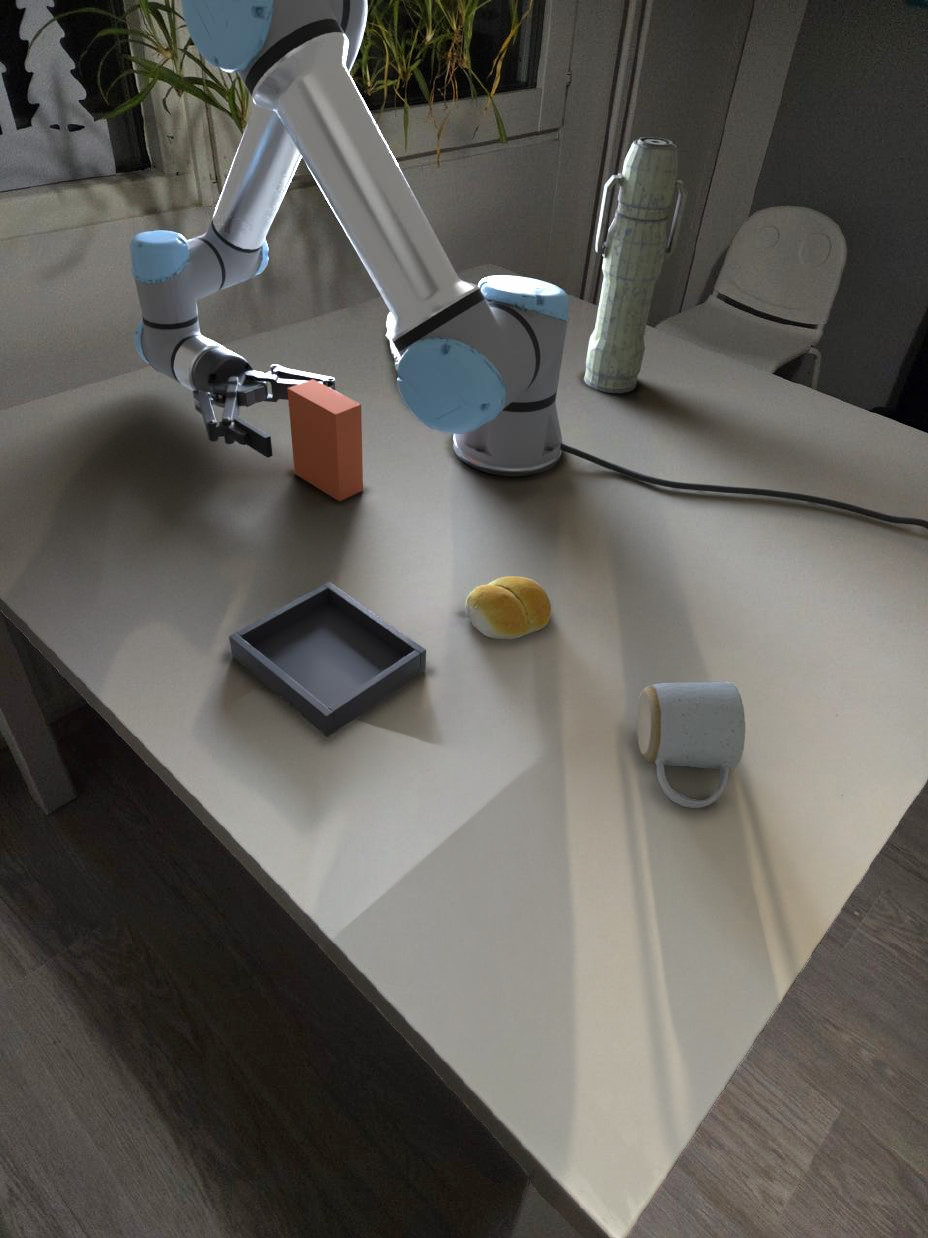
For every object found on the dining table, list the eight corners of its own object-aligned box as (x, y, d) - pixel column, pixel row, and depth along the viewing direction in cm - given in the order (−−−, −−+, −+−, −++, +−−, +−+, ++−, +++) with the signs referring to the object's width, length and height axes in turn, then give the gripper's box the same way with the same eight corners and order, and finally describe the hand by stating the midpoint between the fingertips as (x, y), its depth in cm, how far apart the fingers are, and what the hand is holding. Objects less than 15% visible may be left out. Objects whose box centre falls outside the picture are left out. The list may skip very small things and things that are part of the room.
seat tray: (330, 601, 89) (329, 581, 87) (425, 670, 82) (426, 649, 80) (232, 656, 82) (228, 635, 80) (327, 737, 75) (326, 716, 73)
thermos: (652, 393, 133) (708, 150, 110) (581, 393, 132) (623, 146, 109) (637, 370, 140) (687, 135, 117) (569, 369, 138) (606, 131, 115)
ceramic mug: (628, 718, 79) (644, 661, 73) (712, 721, 79) (734, 665, 74) (647, 812, 71) (667, 756, 66) (740, 815, 71) (768, 759, 66)
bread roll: (563, 624, 89) (569, 595, 86) (495, 652, 85) (499, 623, 82) (518, 582, 94) (522, 553, 91) (452, 606, 90) (454, 577, 87)
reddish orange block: (318, 463, 110) (312, 378, 103) (363, 490, 106) (361, 404, 98) (294, 473, 108) (287, 387, 100) (339, 501, 104) (335, 414, 96)
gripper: (289, 374, 124) (385, 425, 114) (139, 425, 110) (233, 490, 99) (285, 325, 119) (385, 374, 109) (127, 372, 105) (225, 434, 94)
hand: (313, 429), depth 104 cm, fingers open, 13 cm apart
